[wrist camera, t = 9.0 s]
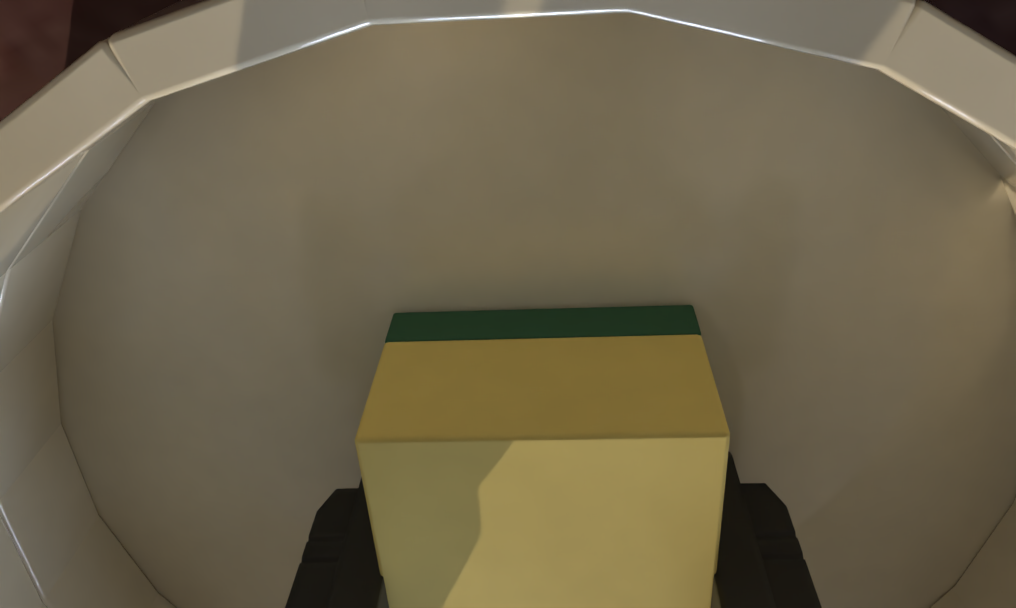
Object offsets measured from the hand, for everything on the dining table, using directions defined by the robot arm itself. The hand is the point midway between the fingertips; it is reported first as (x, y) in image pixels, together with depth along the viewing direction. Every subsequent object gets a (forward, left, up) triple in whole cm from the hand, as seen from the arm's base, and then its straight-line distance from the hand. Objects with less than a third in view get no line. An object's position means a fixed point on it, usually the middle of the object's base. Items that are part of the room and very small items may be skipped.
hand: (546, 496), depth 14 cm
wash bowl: (0, 0, -1) cm, 1 cm away
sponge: (0, 0, 0) cm, 0 cm away
